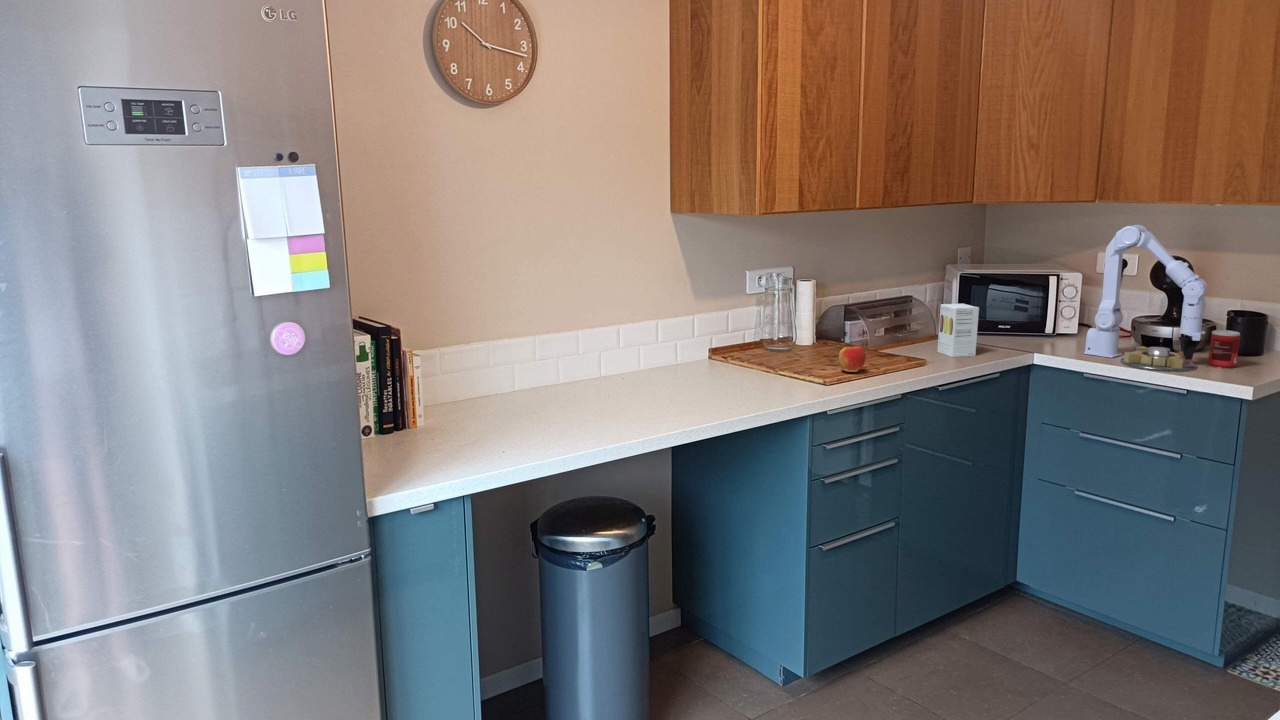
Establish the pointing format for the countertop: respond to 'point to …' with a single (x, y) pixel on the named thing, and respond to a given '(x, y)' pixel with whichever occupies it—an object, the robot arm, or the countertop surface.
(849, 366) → the apple
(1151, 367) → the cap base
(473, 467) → the countertop surface
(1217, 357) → the canned food
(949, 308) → the supplement box
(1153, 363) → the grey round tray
